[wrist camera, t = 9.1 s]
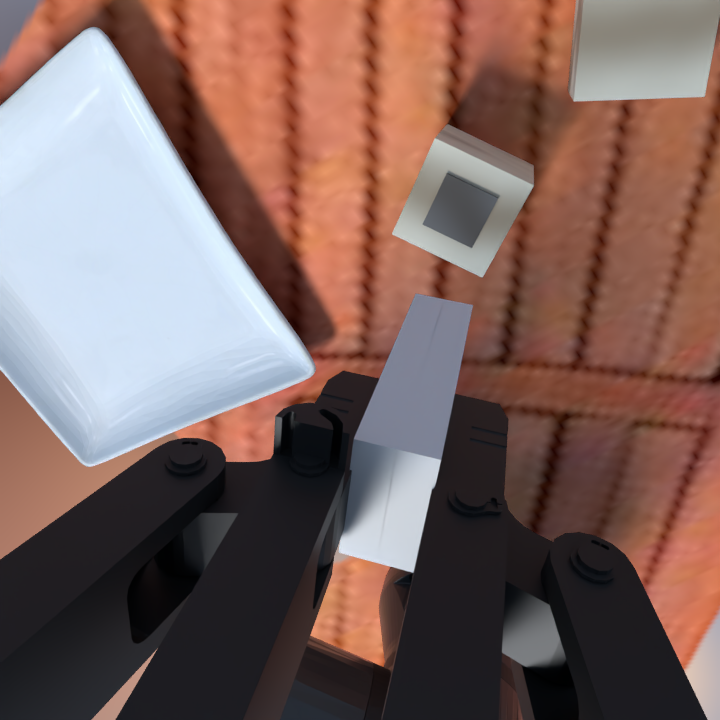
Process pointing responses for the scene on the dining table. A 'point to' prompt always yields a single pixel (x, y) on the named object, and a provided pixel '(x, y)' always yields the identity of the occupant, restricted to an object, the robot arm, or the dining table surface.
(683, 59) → the plain block
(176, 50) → the dining table surface
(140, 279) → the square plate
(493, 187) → the marked block
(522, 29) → the dining table surface
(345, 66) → the dining table surface
